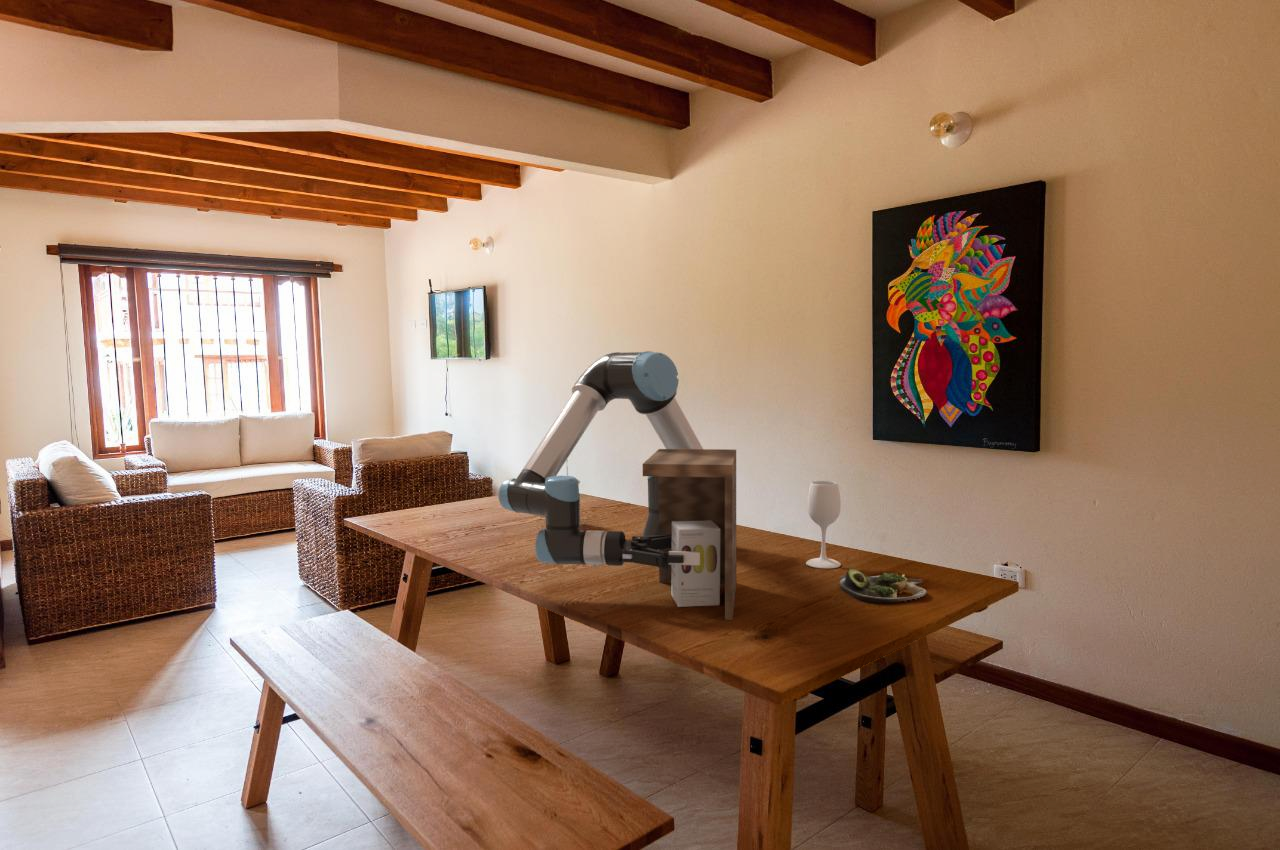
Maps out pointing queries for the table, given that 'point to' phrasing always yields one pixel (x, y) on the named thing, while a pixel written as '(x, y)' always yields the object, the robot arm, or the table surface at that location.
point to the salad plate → (879, 587)
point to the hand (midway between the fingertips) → (702, 550)
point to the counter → (699, 501)
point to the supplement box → (696, 580)
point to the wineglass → (823, 516)
